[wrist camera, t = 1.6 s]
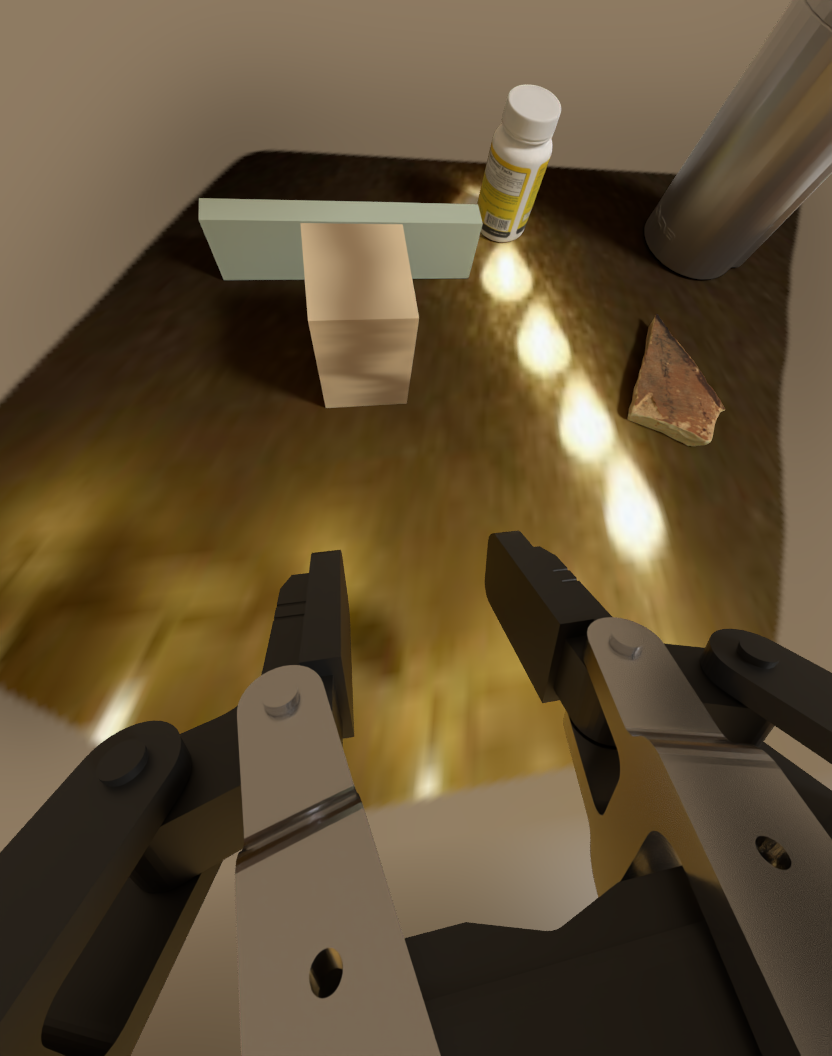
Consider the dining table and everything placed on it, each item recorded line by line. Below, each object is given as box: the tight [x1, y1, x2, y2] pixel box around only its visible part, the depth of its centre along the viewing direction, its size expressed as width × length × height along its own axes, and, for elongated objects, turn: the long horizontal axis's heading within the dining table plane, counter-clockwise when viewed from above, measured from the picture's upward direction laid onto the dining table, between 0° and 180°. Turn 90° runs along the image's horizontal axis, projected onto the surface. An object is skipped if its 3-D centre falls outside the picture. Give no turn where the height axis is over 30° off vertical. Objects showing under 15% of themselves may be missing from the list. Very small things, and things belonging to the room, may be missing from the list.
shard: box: [627, 314, 725, 446], centre depth 32 cm, size 11×8×2 cm
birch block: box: [300, 223, 419, 408], centre depth 25 cm, size 6×7×8 cm
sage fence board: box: [199, 198, 483, 280], centre depth 29 cm, size 20×2×4 cm, turn 98°
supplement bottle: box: [477, 85, 561, 242], centre depth 31 cm, size 5×5×8 cm
